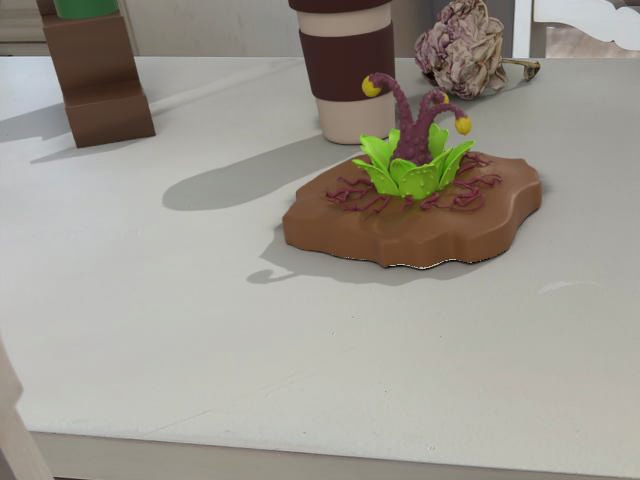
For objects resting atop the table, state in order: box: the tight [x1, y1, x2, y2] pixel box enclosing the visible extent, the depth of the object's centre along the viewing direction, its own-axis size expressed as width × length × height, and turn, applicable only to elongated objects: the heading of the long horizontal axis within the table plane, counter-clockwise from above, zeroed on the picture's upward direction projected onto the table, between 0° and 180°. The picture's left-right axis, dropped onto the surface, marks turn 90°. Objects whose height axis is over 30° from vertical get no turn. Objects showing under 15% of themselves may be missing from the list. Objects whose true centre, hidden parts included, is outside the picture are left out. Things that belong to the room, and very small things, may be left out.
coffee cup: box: [287, 0, 397, 145], centre depth 97 cm, size 10×10×15 cm
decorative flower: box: [413, 0, 541, 101], centre depth 108 cm, size 10×10×15 cm
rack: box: [35, 0, 157, 149], centre depth 105 cm, size 13×8×12 cm, turn 20°
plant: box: [281, 72, 543, 268], centre depth 80 cm, size 20×20×11 cm
